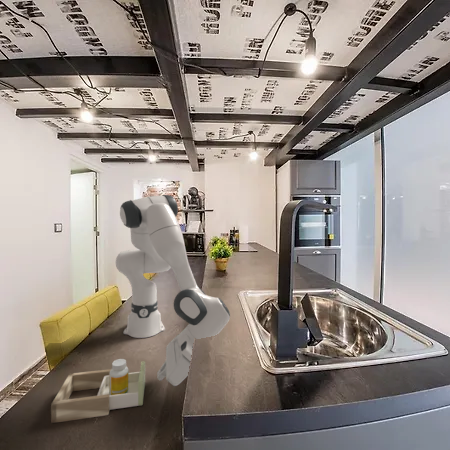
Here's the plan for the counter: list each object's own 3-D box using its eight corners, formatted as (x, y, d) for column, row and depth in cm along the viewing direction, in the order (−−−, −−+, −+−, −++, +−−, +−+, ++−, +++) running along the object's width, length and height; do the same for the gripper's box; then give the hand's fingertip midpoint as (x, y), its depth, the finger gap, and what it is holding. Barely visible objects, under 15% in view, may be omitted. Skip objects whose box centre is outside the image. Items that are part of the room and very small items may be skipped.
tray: (104, 387, 84) (104, 365, 84) (145, 382, 87) (145, 361, 86) (96, 411, 73) (96, 386, 73) (142, 405, 76) (142, 381, 76)
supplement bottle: (106, 393, 80) (106, 362, 79) (123, 385, 84) (123, 355, 83) (114, 402, 76) (114, 369, 76) (131, 393, 80) (131, 362, 80)
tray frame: (69, 389, 83) (69, 373, 83) (117, 383, 86) (117, 368, 86) (51, 423, 69) (51, 404, 69) (108, 414, 73) (108, 397, 72)
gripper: (181, 323, 94) (152, 353, 92) (186, 352, 74) (149, 391, 72) (193, 335, 95) (165, 365, 93) (201, 366, 75) (166, 405, 73)
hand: (158, 376), depth 82 cm, fingers closed
